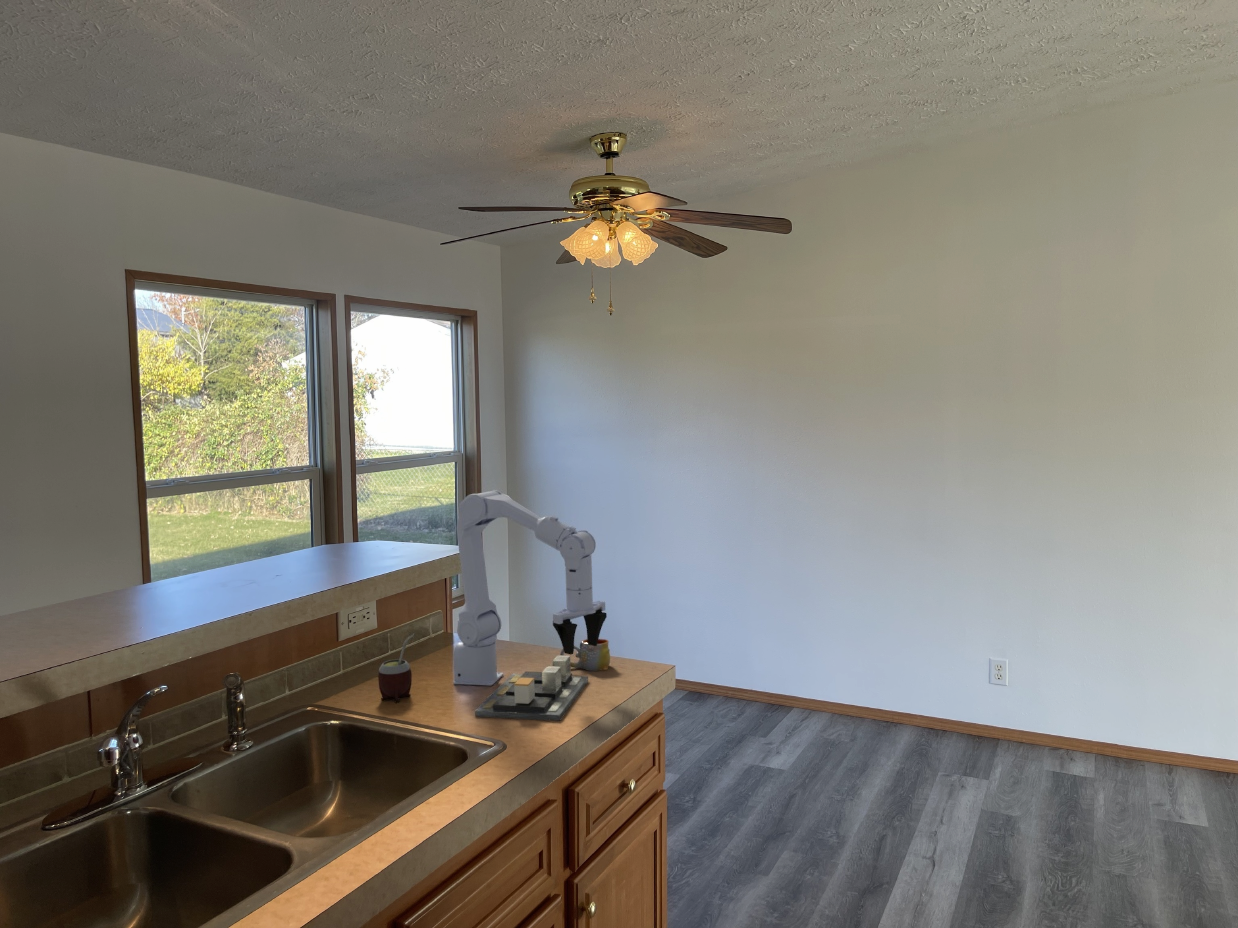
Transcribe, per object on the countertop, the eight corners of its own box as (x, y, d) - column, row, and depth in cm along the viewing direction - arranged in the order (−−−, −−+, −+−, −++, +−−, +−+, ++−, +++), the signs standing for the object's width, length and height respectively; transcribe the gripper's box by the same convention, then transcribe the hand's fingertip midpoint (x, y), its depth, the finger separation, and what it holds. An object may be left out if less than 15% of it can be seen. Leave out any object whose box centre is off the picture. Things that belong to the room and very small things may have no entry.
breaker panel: (474, 716, 170) (473, 685, 169) (513, 678, 193) (512, 651, 193) (559, 720, 166) (558, 689, 166) (588, 681, 190) (587, 653, 189)
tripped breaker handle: (514, 702, 170) (514, 683, 170) (521, 696, 174) (520, 677, 174) (528, 703, 169) (528, 684, 169) (534, 696, 173) (534, 677, 173)
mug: (609, 662, 204) (609, 636, 203) (611, 671, 197) (610, 643, 196) (561, 664, 203) (560, 637, 203) (560, 673, 196) (559, 645, 196)
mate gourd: (378, 695, 184) (375, 629, 183) (414, 690, 187) (411, 625, 186) (380, 706, 177) (377, 637, 176) (418, 701, 180) (415, 633, 179)
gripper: (569, 596, 172) (571, 660, 173) (614, 583, 183) (616, 644, 184) (545, 592, 176) (547, 654, 177) (591, 580, 187) (593, 639, 188)
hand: (580, 649), depth 181 cm, fingers open, 7 cm apart
